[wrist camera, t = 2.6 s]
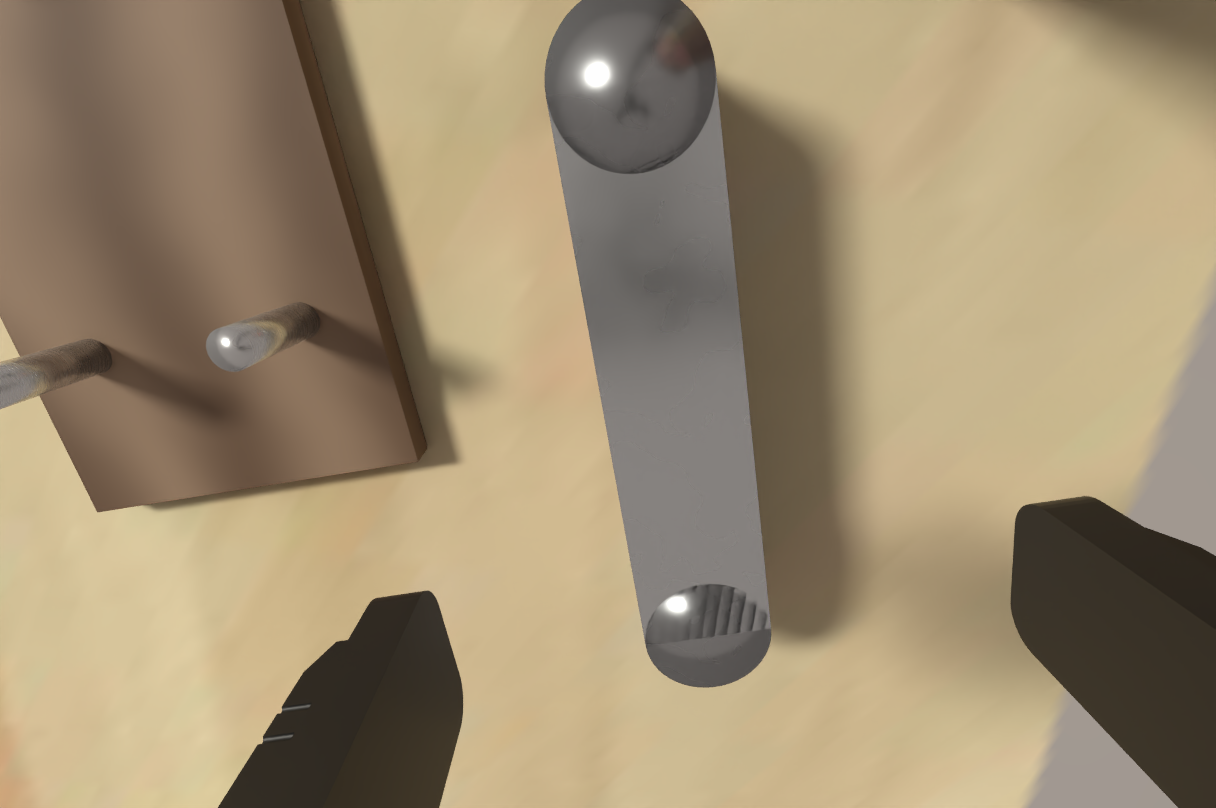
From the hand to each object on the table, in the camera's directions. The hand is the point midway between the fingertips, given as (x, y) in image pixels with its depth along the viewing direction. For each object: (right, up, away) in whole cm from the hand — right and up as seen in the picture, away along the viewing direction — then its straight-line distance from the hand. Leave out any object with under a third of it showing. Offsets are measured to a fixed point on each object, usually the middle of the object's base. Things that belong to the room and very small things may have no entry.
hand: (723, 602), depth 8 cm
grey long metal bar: (0, +4, +13) cm, 14 cm away
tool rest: (-16, +11, +11) cm, 22 cm away
